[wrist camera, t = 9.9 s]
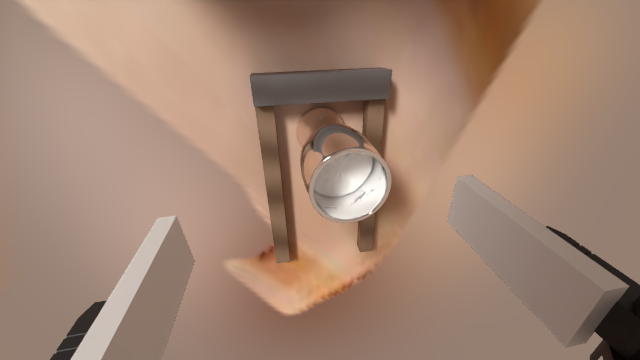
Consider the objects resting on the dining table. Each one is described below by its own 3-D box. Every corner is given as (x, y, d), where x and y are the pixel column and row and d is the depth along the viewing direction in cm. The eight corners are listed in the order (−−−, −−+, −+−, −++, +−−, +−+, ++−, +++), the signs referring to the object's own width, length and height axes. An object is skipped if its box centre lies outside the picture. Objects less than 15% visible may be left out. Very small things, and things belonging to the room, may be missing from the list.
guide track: (251, 73, 29) (249, 76, 27) (381, 67, 31) (392, 69, 28) (276, 254, 41) (276, 269, 39) (368, 242, 43) (375, 255, 41)
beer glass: (358, 123, 34) (412, 173, 21) (327, 166, 36) (358, 237, 23) (312, 92, 31) (342, 127, 18) (282, 140, 33) (288, 204, 20)
